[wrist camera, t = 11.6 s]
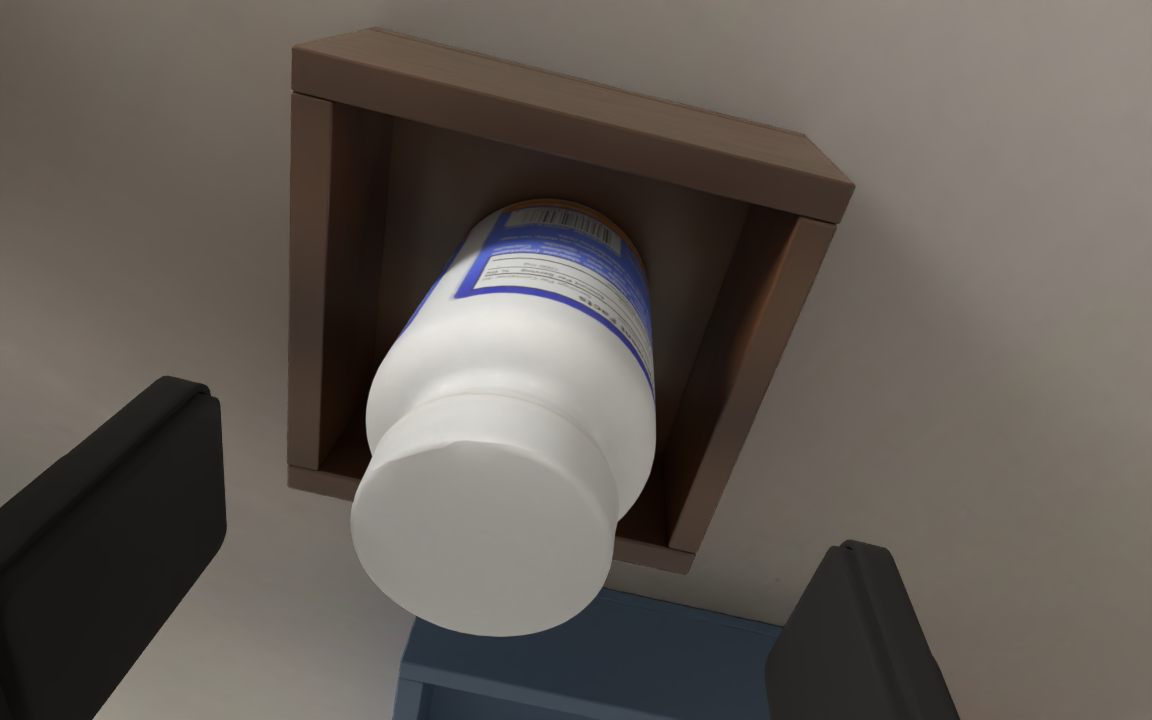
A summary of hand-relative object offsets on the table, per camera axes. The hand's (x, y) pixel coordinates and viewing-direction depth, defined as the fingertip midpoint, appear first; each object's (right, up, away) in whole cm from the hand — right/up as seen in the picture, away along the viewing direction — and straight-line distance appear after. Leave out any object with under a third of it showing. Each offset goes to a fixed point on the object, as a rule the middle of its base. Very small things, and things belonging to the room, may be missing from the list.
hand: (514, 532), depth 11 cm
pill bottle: (0, +5, +8) cm, 10 cm away
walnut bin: (0, +5, +9) cm, 10 cm away
